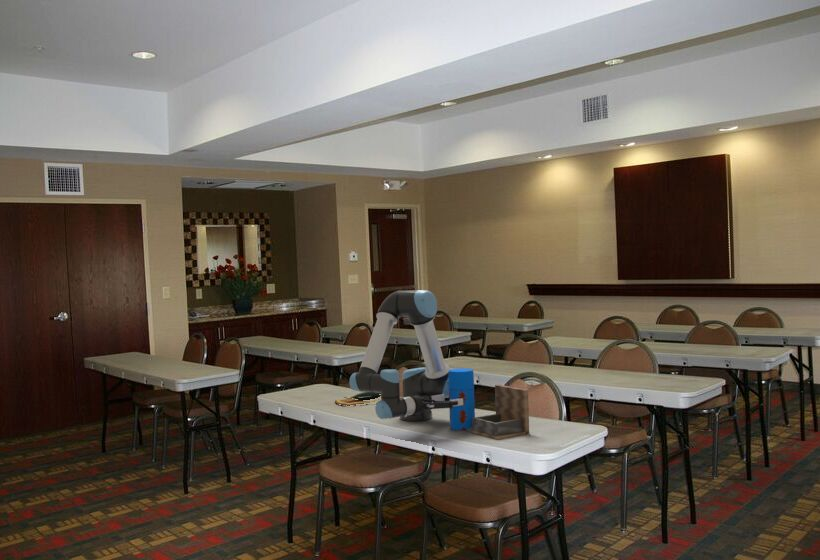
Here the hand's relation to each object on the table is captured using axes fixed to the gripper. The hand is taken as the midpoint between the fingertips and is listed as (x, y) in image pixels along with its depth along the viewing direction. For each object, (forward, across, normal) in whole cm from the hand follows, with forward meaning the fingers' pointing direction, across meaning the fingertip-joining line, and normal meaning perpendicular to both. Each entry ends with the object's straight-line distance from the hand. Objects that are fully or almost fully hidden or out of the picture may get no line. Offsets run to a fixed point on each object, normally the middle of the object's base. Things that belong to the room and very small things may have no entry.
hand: (453, 399), depth 302 cm
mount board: (+11, +16, -13) cm, 24 cm away
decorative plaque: (+2, -86, -14) cm, 88 cm away
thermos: (+5, -1, -13) cm, 14 cm away
